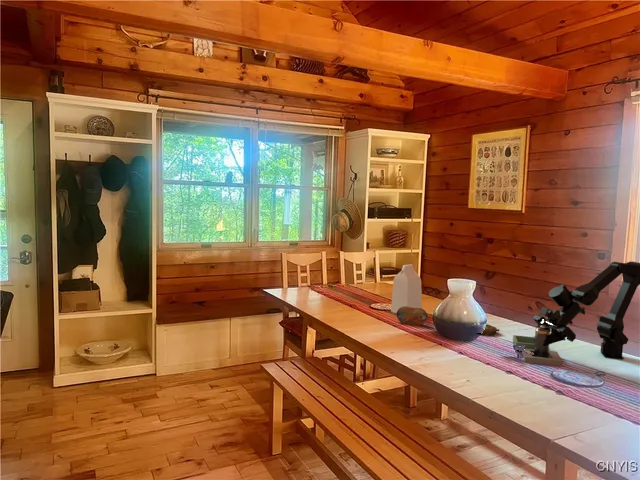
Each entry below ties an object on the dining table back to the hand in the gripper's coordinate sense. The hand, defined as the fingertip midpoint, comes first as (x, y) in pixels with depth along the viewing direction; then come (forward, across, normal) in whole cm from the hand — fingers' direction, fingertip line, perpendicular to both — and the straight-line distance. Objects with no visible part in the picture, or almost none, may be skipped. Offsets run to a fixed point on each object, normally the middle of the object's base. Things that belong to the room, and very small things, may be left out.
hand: (538, 343), depth 174 cm
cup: (+2, -12, +8) cm, 15 cm away
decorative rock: (+7, -38, +3) cm, 38 cm away
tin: (+27, -53, -17) cm, 62 cm away
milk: (+23, -74, -14) cm, 79 cm away
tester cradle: (+4, 0, +6) cm, 7 cm away
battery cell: (+4, 0, +6) cm, 7 cm away
